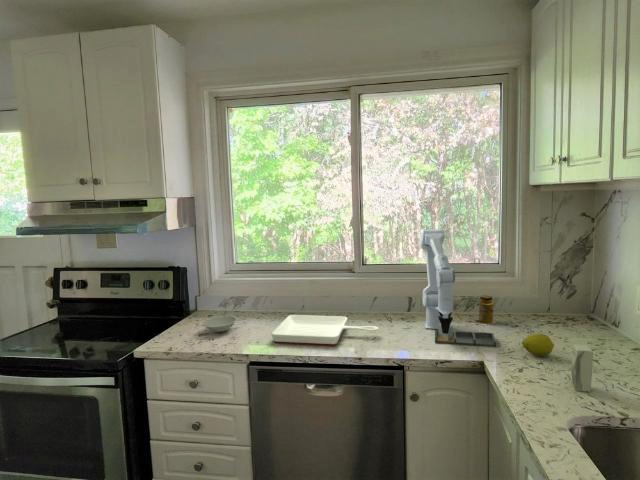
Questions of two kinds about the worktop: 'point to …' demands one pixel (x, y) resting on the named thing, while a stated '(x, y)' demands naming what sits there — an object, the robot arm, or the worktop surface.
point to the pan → (313, 330)
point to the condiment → (485, 311)
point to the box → (581, 368)
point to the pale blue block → (446, 336)
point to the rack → (468, 338)
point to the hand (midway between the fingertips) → (445, 330)
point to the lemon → (538, 344)
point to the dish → (220, 323)
